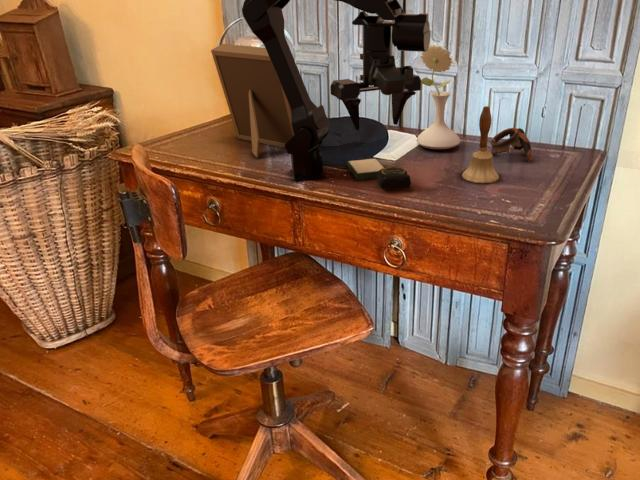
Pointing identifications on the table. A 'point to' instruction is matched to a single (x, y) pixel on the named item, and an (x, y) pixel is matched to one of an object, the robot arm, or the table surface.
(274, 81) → the photo frame
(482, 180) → the hand bell
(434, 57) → the flower in vase
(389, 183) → the tape measure
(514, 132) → the brown leather strap
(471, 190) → the table surface
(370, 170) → the tan flat block
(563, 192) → the table surface
